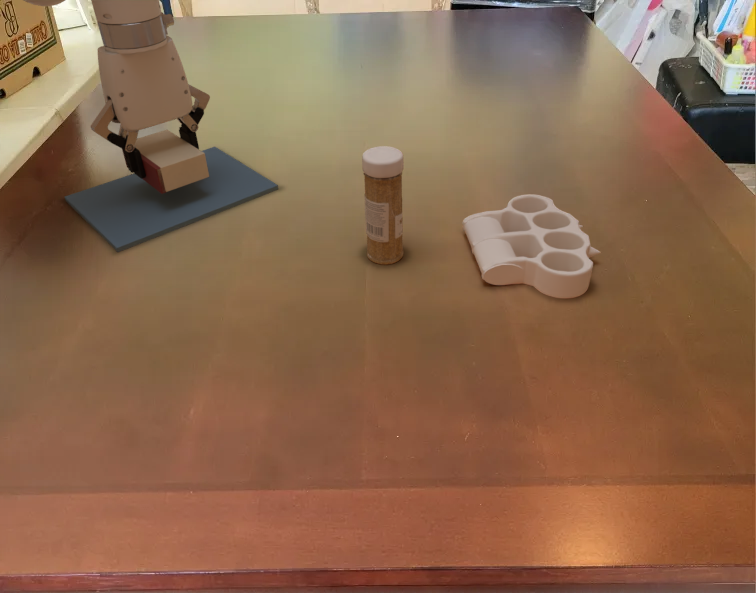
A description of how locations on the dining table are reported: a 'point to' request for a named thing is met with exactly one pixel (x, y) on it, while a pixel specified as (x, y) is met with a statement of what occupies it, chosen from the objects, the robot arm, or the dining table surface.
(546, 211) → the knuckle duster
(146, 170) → the book
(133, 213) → the mat
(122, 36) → the robot arm
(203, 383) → the dining table surface
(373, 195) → the sprinkles bottle
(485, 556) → the dining table surface
